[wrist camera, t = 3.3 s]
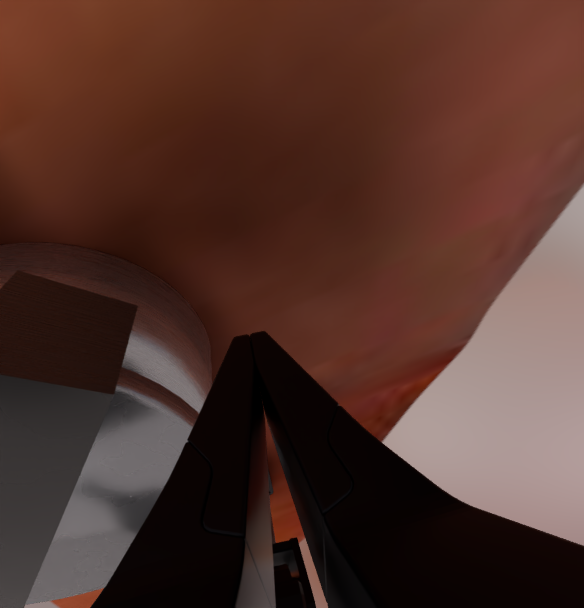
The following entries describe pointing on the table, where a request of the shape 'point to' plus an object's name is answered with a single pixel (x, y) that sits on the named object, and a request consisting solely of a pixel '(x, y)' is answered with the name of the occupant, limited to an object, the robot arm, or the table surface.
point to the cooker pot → (149, 317)
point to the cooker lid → (75, 440)
